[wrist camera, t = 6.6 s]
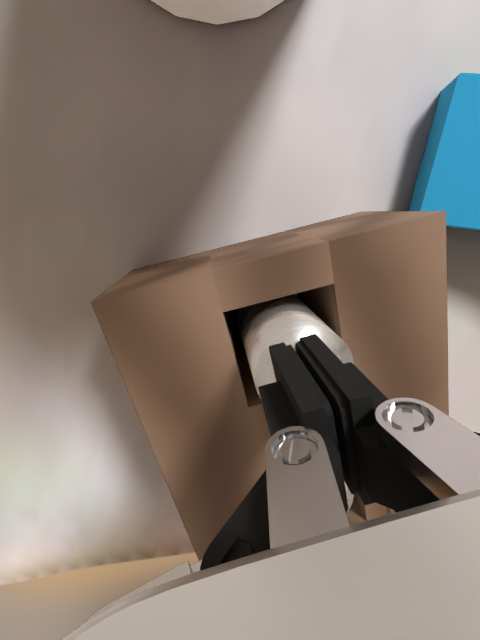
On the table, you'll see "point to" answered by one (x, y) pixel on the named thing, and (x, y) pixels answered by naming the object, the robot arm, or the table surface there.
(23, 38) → the table surface
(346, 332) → the walnut block
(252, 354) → the peg
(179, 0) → the white jar
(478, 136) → the blue block
